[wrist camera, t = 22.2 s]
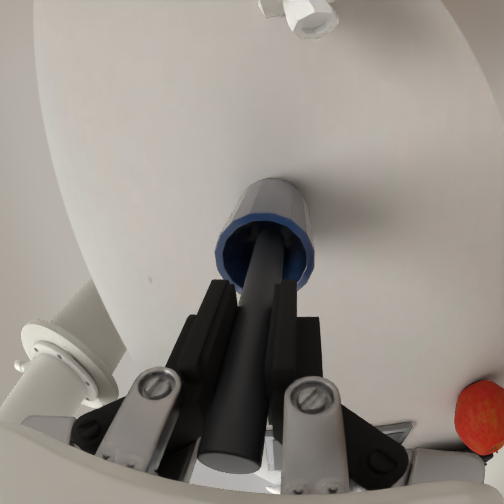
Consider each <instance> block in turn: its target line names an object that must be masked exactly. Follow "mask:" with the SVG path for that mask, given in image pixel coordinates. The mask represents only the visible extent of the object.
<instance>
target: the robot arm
mask: <svg viewBox="0 0 504 504" xmlns="http://www.w3.org/2000/svg"><path fill="white" fill-rule="evenodd" d="M237 308H238V306H237V298H236V290H235V285H234V284H230V283H229V280H212V281H211V284H210V286H209V288H208V290H207V293H206V295H205V297H204V299H203V302H202V304H201V306H200V308H199V311H198V313H197V315H189V316H188V318H187V320H186V322H185V324H184V327H183V329H182V331H181V333H180V335H179V337H178V340H177V342H176V344H175V346H174V348H173V350H172V353H171V355H170V357H169V359H168V362H167V364H166V366H165V367H154V368H150V369H148V370H145V371H144V372H142V373H141V374H140V375H139V376H138V377H137V378H136V380H135V381H134V383H133V385H132V387H131V389H130V390H129V392H128V394H127V396H125V397H123V398H120V399H118V400H116V401H114V402H111V403H109V404H107V405H105V406H102V407H100V408H98V409H95V410H93V411H91V412H88V413H86V414H84V415H82V416H80V417H79V418H78V419H76V418H75V417H74V415H75V414H76V412H77V410H78V409H79V407H80V405H81V403H82V402H93V401H95V399H96V398H97V396H98V393H99V391H98V387H97V384H96V382H95V380H94V379H93V377H92V376H91V375H90V373H89V372H88V371H87V370H86V369H85V368H84V366H82V365H81V364H80V363H79V362H78V361H77V360H76V359H75V358H74V357H73V356H71V355H70V354H69V353H67V352H66V351H65V350H63V349H61V348H60V347H58V346H56V345H54V344H52V343H50V342H47V341H37V342H35V344H34V345H33V346H32V348H31V355H32V358H33V359H32V360H31V361H30V362H27V363H26V362H24V361H22V360H19V359H18V360H16V361H15V364H14V365H15V368H16V369H17V370H18V371H20V372H23V373H24V375H23V376H22V377H21V379H20V380H19V381H18V383H17V384H16V385H15V387H14V388H13V390H12V391H11V393H10V394H9V395H8V397H7V398H6V400H5V401H4V402H3V404H2V405H1V407H0V504H504V498H503V496H502V495H501V493H500V492H499V491H498V490H497V489H496V488H494V487H492V486H490V485H487V484H484V476H485V465H484V462H483V460H482V458H481V457H479V456H478V455H477V454H474V453H470V452H454V451H442V450H432V449H423V448H415V450H409V449H405V448H404V447H403V446H402V445H401V444H399V443H398V442H397V441H395V440H394V439H392V438H391V437H389V436H387V435H386V434H384V433H383V432H381V431H380V430H378V429H377V428H375V427H374V426H372V425H371V424H369V423H368V422H366V421H365V420H363V419H362V418H361V417H359V416H358V415H356V414H355V413H353V412H352V411H350V410H349V409H348V408H346V407H345V406H343V405H342V404H341V399H340V394H339V391H338V388H337V387H336V386H335V385H334V383H332V382H331V381H329V380H328V379H325V378H323V370H322V352H321V336H320V322H319V317H297V280H281V284H275V288H274V296H273V304H272V312H271V320H270V328H269V336H268V343H267V351H266V358H265V384H266V396H267V397H268V399H269V410H268V421H269V425H273V438H274V439H276V440H277V441H278V442H279V443H280V444H281V445H282V446H283V449H282V472H281V491H280V494H265V493H251V492H241V491H233V490H224V489H218V488H212V487H206V486H199V485H195V484H189V481H190V478H191V475H192V472H193V469H194V466H195V463H196V460H197V450H198V447H199V443H200V440H201V436H202V432H203V429H204V425H205V422H206V418H207V415H208V411H209V408H210V404H211V400H212V397H213V393H214V391H215V387H216V383H217V380H218V376H219V373H220V369H221V366H222V362H223V358H224V355H225V351H226V348H227V344H228V340H229V337H230V333H231V330H232V326H233V323H234V319H235V315H236V312H237Z"/></svg>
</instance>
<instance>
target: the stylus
mask: <svg viewBox="0 0 504 504" xmlns="http://www.w3.org/2000/svg"><path fill="white" fill-rule="evenodd" d="M284 246H285V239H284V236H283V234H282V233H281V232H280V231H278V230H276V229H273V228H268V229H264V230H262V231H261V232H260V233H259V234H258V236H257V240H256V243H255V247H254V250H253V254H252V258H251V261H250V265H249V268H248V272H247V276H246V279H245V283H244V286H243V290H242V293H241V297H240V301H239V304H238V308H237V312H236V315H235V319H234V323H233V326H232V330H231V333H230V337H229V340H228V344H227V348H226V351H225V355H224V358H223V362H222V366H221V369H220V373H219V376H218V380H217V383H216V387H215V391H214V393H213V397H212V400H211V404H210V408H209V411H208V415H207V418H206V422H205V425H204V429H203V432H202V436H201V440H200V443H199V447H198V450H197V459H198V460H199V461H200V462H201V463H202V464H204V465H205V466H207V467H209V468H212V469H215V470H217V471H221V472H226V473H232V474H249V473H253V472H256V471H258V470H259V469H260V467H261V463H262V456H263V449H264V441H265V434H266V426H267V418H268V410H269V399H268V397H267V396H266V384H265V358H266V351H267V343H268V336H269V328H270V320H271V312H272V304H273V296H274V288H275V284H281V280H282V271H283V259H284Z"/></svg>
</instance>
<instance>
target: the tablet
mask: <svg viewBox="0 0 504 504" xmlns="http://www.w3.org/2000/svg"><path fill="white" fill-rule="evenodd" d="M412 427H413V426H412V422H406V423H400V424H393V425H386V426H377V427H375V428H377V429H378V430H380V431H381V432H383V433H384V434H386V435H387V436H389V437H391V438H392V439H394V440H395V441H397V442H398V443H399V444H402V442H403V441H404V439H405V438H406V437H407V435H408V434H409V432H410V431H411V429H412ZM265 443H266V452H267V461H268V470H269V471H282V449H283V446H282V445H281V444H280V443H279V442H278V441H277V440H276V439H274V438H273V431H269V430H266V434H265Z"/></svg>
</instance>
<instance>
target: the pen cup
mask: <svg viewBox="0 0 504 504" xmlns="http://www.w3.org/2000/svg"><path fill="white" fill-rule="evenodd" d="M268 228H273V229H276V230H278V231H280V232H281V233H282V234H283V236H284V239H285V246H284V259H283V271H282V280H297V291H298V290H299V289H300V288H302V287H303V286H304V285H305V284H306V283H307V281H308V279H309V277H310V275H311V273H312V271H313V269H314V255H315V251H314V244H313V237H312V230H311V223H310V217H309V211H308V206H307V203H306V200H305V198H304V196H303V195H302V193H301V192H300V191H299V190H298V189H297V188H296V187H295V186H294V185H293V184H291V183H289V182H287V181H285V180H281V179H276V178H270V179H263V180H260V181H257V182H256V183H254V184H252V185H251V186H249V187H248V188H247V189H246V191H245V192H244V193H243V195H242V196H241V197H240V199H239V201H238V203H237V204H236V206H235V208H234V210H233V212H232V213H231V215H230V217H229V219H228V221H227V223H226V224H225V226H224V228H223V230H222V232H221V234H220V236H219V239H218V242H217V245H216V249H215V258H216V265H217V269H218V271H219V273H220V274H221V276H222V278H223V279H224V280H229V283H230V284H234V285H235V290H236V292H238V293H239V294H241V293H242V290H243V286H244V283H245V279H246V276H247V272H248V268H249V265H250V261H251V258H252V254H253V250H254V247H255V243H256V240H257V236H258V234H259V233H260V232H261V231H262V230H264V229H268Z"/></svg>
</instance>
